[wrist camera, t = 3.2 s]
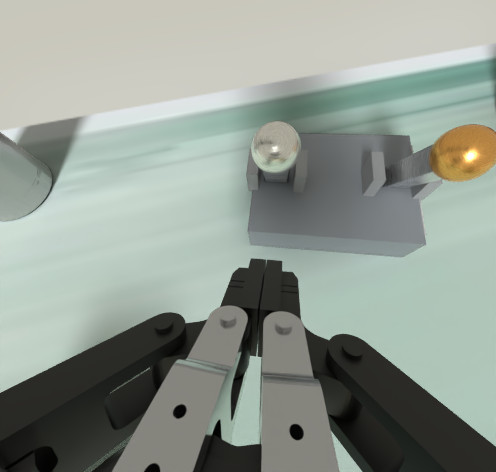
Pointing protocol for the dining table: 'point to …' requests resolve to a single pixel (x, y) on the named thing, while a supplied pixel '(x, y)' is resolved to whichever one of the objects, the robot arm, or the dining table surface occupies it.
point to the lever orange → (447, 158)
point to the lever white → (276, 150)
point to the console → (339, 198)
